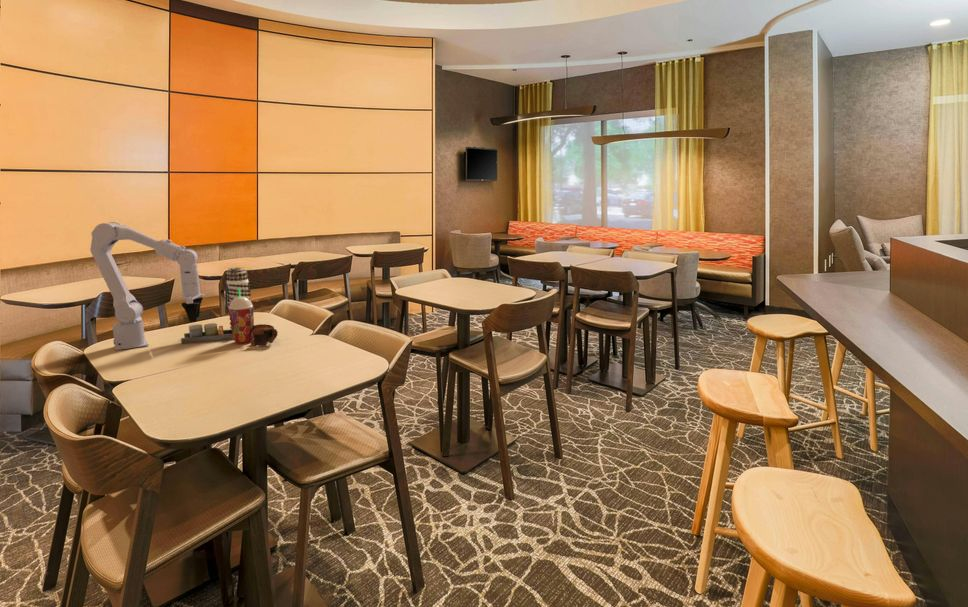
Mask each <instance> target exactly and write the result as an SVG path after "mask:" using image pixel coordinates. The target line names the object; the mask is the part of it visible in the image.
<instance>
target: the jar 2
mask: <svg viewBox="0 0 968 607" xmlns="http://www.w3.org/2000/svg"><path fill="white" fill-rule="evenodd" d="M218 328H219V327H218V324H217V323H216V322H215V323H212V322H210V323H206V324H204V325H203V332H205V336H212V335H218Z"/></svg>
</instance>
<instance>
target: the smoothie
mask: <svg viewBox="0 0 968 607" xmlns="http://www.w3.org/2000/svg"><path fill="white" fill-rule="evenodd" d="M238 292H239V297H236V298H234V299H233V300H232V301H231V303H230V304H229V305H228V307H227V308H228V313H229V314H228V316H229V315H230V316H229V320H230V322H231V325H230V326H232V332H233V338H234V339H233V341H234V342H235V344H237V345H244V344H245V345H247V344H251V343H250V341H251V340H253V339H254V337H253V334H252V332H251V333H250V331H251V330H252V329H253V326H254V325H255V320H254V317H255V316H254V315H255V314H254V304H253V303H252V300H251V301H250V300H249V299H248V298H246V297H242V296H241V292H240V289H238Z"/></svg>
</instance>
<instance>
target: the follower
mask: <svg viewBox="0 0 968 607" xmlns="http://www.w3.org/2000/svg"><path fill="white" fill-rule="evenodd" d="M217 328H218V335H223V334H224V332H223V330H224V326H223V325H219V326H218V327H217Z"/></svg>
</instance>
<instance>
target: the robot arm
mask: <svg viewBox="0 0 968 607" xmlns="http://www.w3.org/2000/svg"><path fill="white" fill-rule="evenodd" d="M124 240H125V241H126V240H127V241H128V240H130V241H133V242H135V243H138V244H141V245H142V246H145V247H149V248H151V249H153V250H154V251H155V253H156V255H159V256H162V257H164V258H166V259H168V260H171V261H173V262H176V263H177V264H178V265H179V273H180V274H179V276H180V282H181V290H182V291H181V292H182V297H181V298H182V299H184V300H185V302H182V303H181V306H182V308H183V309H184V311H185V312H186V316H187V318H188V321H189V322H190V323H195V322H197V319H198V318H199V317H200V314H201V313H200V310H201V305H202V301H203V299H204V298H203V297H204V296H205V293H201V287H200V286H201V285H200V276H199V270H198V263H197V262H198V260H199V255H198V253H197V252H196V251H195V250H193V249H192V248H186V246H184V245H183V246H181V245H179V244H176V243H174V242H173V240H171V239H164V238H163V239H160V240H158V239H156V238H153V237H152V236H149V235H147V234H145V233H143V232H142V231H138V230H137V229H135V228H132V227H129V226H127V225H125V224H120V223H118V222H115V221H110V222H106V223H105V222H104V223H98V224H97V225H96V226H95V227H94V228H93V230H92V231H91V244H90V248H89V249H90V250H89V251H90V253H91V255H92V257H93V259H94V261H95V264H96V265H97V267H98V268H97V269H98V270H99V271H100V273H101V275H102V278H103V280H104V282H105V283H106V286H107V288H108V290H109V292H110V294H111V296H112V298H113V308H114V316H115V319H116V320H117V321H118V322H117V323H112V325H111V326H112V333H113V345H114V347H115V351H120V350H127V349H135V348H141V347H148V346H149V345H148V342H147V340H146V337H145V329H144V322H143V318H142V317H141V316H142V315H143V313H144V307H143V305H142V304H141V303H140V302H139V301H137V299H136V297H135V296H134V295H133V294H132V293H130V290H129V287H128V286H127V285H126V282H125V280H124V277H123V275H122V273H121V271H120V269H119V267H118V265H117V263H116V261H115V259H114V257H113V254H112V252H111V251H112V249H113V247H114V246H115V244H116V243H118V241H124Z"/></svg>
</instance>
